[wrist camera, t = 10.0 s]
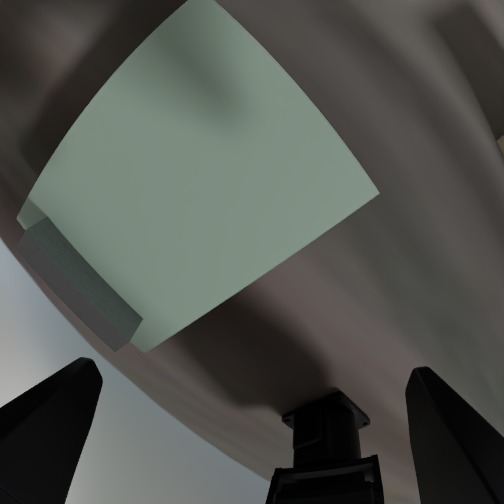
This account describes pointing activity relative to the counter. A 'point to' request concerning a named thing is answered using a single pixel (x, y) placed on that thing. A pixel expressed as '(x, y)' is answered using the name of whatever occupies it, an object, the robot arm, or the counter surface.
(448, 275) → the counter surface
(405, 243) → the counter surface
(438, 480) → the robot arm
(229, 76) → the lid
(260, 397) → the counter surface
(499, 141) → the brown wooden block
